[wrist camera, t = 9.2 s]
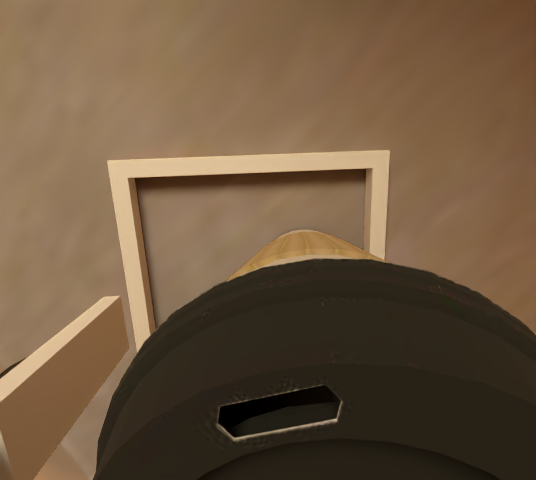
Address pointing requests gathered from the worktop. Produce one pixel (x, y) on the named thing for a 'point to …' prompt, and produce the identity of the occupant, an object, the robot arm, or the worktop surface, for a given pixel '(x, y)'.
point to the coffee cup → (327, 378)
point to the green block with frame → (128, 170)
